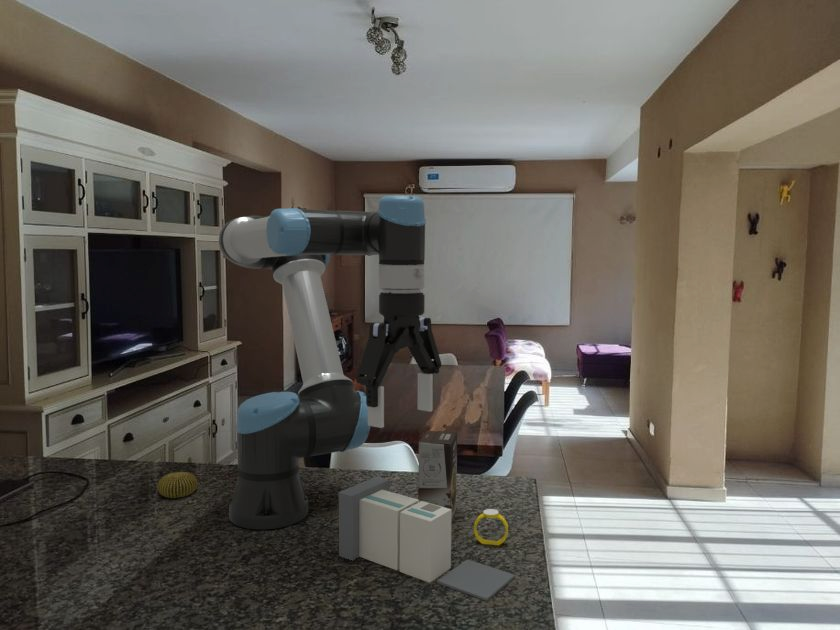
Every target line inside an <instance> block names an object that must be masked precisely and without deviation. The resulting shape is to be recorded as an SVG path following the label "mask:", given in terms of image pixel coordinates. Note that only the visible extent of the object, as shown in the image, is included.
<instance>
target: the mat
mask: <svg viewBox="0 0 840 630" xmlns="http://www.w3.org/2000/svg"><path fill="white" fill-rule="evenodd" d="M515 578H516V575H515V574H513V573H510V572H509V571H504V570H502V569H498V568H495V567H492V566H489V565H487V564H486V565H485V564H484V563H480V562H477V561H473V560H471V559H465V560H464V561H463V562H461V563H460V564H458V565H457V566H456V567H454V568H453V569H452V570H449V571H448V572H447V573H446V574H444V575H443V576H442V577H440V578H439V579H437V580H436V583H437V584H439V585H441V586H444V587H447V588H449V589H452V590H456V591H458V592H459V593H460V592H461V593H462V594H466V595H469V596H471V597H473V598H476V599H479V600H483V601H484V602H488V601H489V600H490V599H492V598H493V597H494V596H495V595H496V594H498V592H500V591H501V590H502V589H503V588H504V587H506V586H507V585H508V584H509V583H510V582H512V581H513V580H514V579H515Z"/></svg>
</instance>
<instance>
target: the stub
mask: <svg viewBox="0 0 840 630" xmlns="http://www.w3.org/2000/svg"><path fill="white" fill-rule="evenodd" d="M451 518H452V509H448V508H445V507H441V506H438V505H434V504H431V503H427V502H424V501H421V502H419V503H417V504H415V505H413V506H411V507H409V508H407V509H405V510H403V511H401V512H400V569H399V572H400V573H403V574H404V575H408V576H410V577H413V578H416V579H419V580H422V581H424V582H427V583H432V582H433V581H435V580H436V579H437V578H439V577H440V576H442V575H443V574H445V573H446V572H447V571H450V569H451V568H452V567H451V565H452V564H451V563H452V521H451ZM452 519H453V518H452Z"/></svg>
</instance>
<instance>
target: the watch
mask: <svg viewBox="0 0 840 630" xmlns="http://www.w3.org/2000/svg"><path fill="white" fill-rule="evenodd" d="M484 518H486V519H498V520H500V521H501V522H502V523H503V525H504V527H505V533H504V535H503V536H502V537H501V538H500V539H498V540H492V539H491V540H490V539H484V538H483V537H482V536H480V534H479V532H478V530H477V526H478V523H479V522H480V521H481V520H482V519H484ZM473 534H474V536H475V539H476V540H477V541H478V542H479V543H480V544H481V545H489V546H490V545H491V546H501V545H502V544H503V543H504V542H505V541H506V539H507V537H508V534H509V525H508V521H506V518H505V517H504V516H503V515H501V514H500V511H499V510H497V509H493V508H487V509H484V510H483V511H482V513H480V514H479V515H478V516H477V518H476V520H475V521H474V525H473Z"/></svg>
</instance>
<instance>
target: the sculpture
mask: <svg viewBox="0 0 840 630" xmlns="http://www.w3.org/2000/svg"><path fill="white" fill-rule="evenodd" d="M158 480H159V481H158V483H157V487H156V488H157V491H158V493H159V494H160V495H161V496H163V497H165V498H168V499H169V498H170V499H178V498H179V499H180V498H184V497H187V496H189V495H192V494H193V493H195V491H196V489H197V488H198V478H197V477H196V476H195V475H194V474H193V473H192V472H188V471H175V472H171V473H167V474H166V475H163V476H162V477H161V478H160V479H158Z"/></svg>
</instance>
